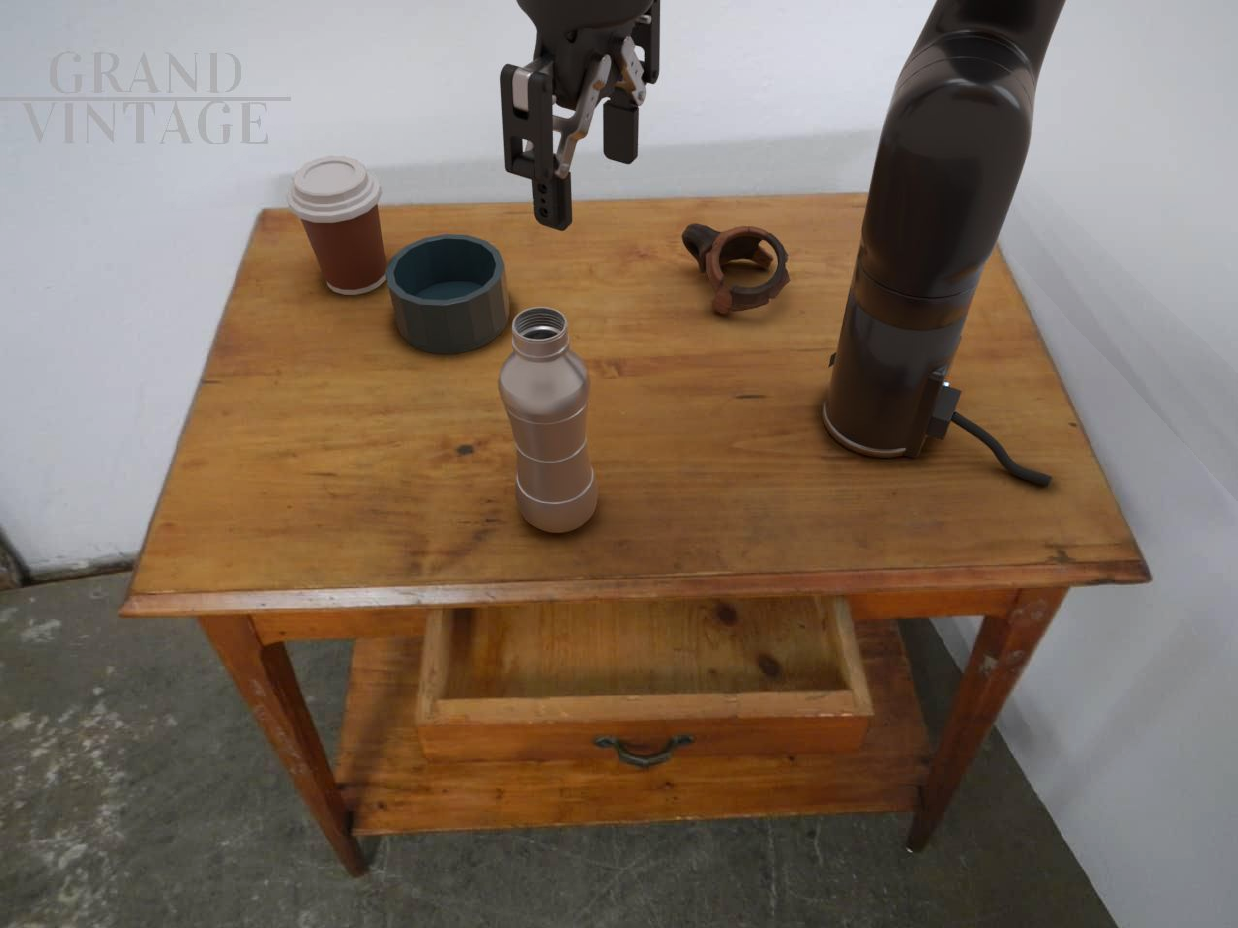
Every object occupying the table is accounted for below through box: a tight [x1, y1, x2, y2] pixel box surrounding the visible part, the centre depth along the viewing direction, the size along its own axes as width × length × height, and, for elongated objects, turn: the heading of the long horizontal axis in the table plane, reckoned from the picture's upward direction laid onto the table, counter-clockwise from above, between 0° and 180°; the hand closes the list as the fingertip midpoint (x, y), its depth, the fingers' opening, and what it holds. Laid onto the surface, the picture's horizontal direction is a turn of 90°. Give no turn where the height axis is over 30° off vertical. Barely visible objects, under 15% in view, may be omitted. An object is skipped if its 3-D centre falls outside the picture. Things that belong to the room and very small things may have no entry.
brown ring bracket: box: [681, 222, 791, 315], centre depth 95 cm, size 12×10×8 cm
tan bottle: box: [497, 306, 599, 534], centre depth 70 cm, size 6×7×20 cm
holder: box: [385, 233, 511, 355], centre depth 92 cm, size 11×11×6 cm
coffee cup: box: [285, 155, 388, 296], centre depth 94 cm, size 9×9×12 cm
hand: (588, 190), depth 59 cm, fingers open, 8 cm apart
